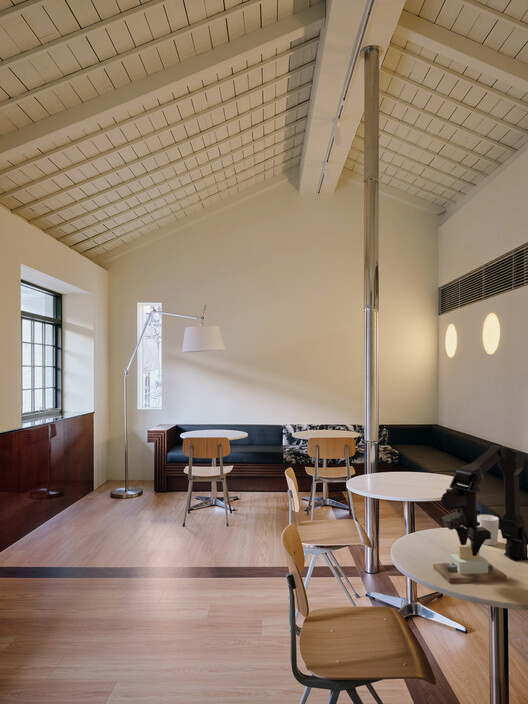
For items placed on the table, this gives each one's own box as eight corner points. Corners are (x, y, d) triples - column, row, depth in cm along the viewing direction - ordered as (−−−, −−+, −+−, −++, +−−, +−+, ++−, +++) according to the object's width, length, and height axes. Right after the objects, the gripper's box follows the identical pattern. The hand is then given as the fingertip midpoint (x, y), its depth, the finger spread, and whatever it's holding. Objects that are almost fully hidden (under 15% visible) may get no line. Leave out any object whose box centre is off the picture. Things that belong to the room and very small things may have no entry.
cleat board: (487, 565, 176) (487, 557, 176) (507, 580, 164) (506, 571, 164) (433, 568, 174) (433, 559, 174) (449, 582, 162) (449, 573, 162)
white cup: (473, 540, 201) (472, 515, 202) (489, 538, 204) (488, 513, 204) (487, 547, 194) (486, 521, 194) (503, 544, 196) (503, 519, 196)
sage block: (477, 564, 173) (476, 541, 173) (488, 573, 166) (487, 549, 166) (449, 566, 172) (449, 542, 172) (459, 574, 165) (459, 550, 165)
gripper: (433, 499, 178) (434, 543, 177) (458, 514, 159) (459, 563, 159) (463, 498, 179) (463, 541, 178) (491, 513, 160) (492, 562, 160)
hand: (468, 551), depth 169 cm, fingers open, 7 cm apart
